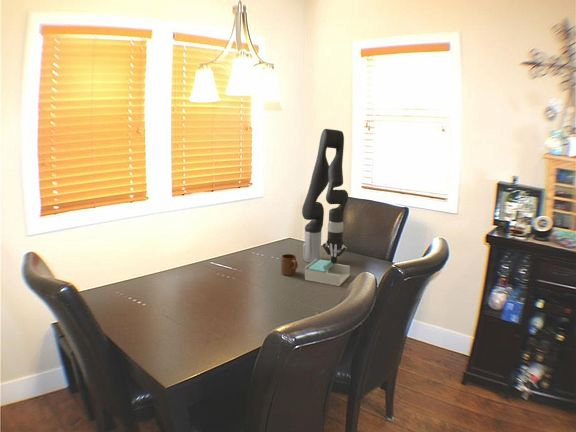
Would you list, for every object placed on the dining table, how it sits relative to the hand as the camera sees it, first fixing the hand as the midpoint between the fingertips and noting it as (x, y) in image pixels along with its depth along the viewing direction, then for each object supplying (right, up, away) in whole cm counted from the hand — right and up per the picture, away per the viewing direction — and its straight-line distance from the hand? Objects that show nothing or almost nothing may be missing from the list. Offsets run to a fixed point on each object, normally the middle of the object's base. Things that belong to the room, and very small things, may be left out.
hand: (333, 263), depth 222 cm
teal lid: (-6, -2, +3) cm, 7 cm away
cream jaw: (-5, -6, +4) cm, 9 cm away
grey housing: (-3, -8, +3) cm, 9 cm away
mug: (-22, -7, +7) cm, 24 cm away
